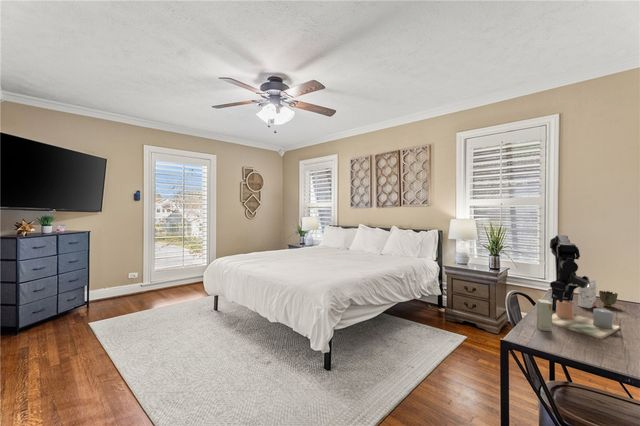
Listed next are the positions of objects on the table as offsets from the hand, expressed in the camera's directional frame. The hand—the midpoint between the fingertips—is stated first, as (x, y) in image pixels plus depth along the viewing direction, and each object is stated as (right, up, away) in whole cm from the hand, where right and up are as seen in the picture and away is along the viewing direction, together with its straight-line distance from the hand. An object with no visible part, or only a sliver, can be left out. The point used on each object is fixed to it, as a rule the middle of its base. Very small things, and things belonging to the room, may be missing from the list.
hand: (565, 300), depth 144 cm
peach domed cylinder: (0, -8, 0) cm, 8 cm away
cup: (+40, -9, +19) cm, 45 cm away
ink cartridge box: (+28, -9, +19) cm, 35 cm away
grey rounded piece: (+7, -8, -12) cm, 16 cm away
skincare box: (-20, -9, -13) cm, 26 cm away
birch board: (0, -9, -8) cm, 12 cm away
